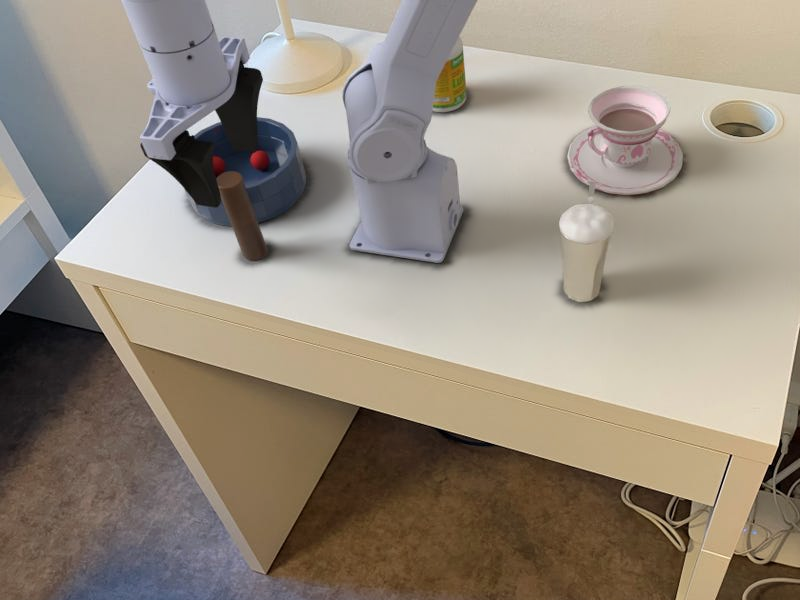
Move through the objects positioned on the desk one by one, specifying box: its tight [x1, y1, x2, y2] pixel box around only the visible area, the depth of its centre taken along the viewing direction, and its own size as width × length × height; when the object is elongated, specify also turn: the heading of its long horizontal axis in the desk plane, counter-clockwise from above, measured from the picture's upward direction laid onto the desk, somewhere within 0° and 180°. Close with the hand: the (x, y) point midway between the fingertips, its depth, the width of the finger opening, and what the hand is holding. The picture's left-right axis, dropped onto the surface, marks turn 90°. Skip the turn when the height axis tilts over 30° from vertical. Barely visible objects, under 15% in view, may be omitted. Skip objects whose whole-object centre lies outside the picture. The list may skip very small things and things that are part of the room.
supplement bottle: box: [432, 36, 467, 113], centre depth 91 cm, size 5×5×10 cm
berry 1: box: [213, 156, 226, 176], centre depth 87 cm, size 2×2×2 cm
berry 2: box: [250, 151, 270, 170], centre depth 87 cm, size 2×2×2 cm
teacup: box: [566, 85, 684, 196], centre depth 84 cm, size 12×12×6 cm
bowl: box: [184, 116, 307, 227], centre depth 85 cm, size 12×12×4 cm
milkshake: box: [558, 182, 615, 303], centre depth 71 cm, size 4×5×10 cm
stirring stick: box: [216, 171, 268, 262], centre depth 77 cm, size 2×2×9 cm
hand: (228, 175), depth 73 cm, fingers open, 7 cm apart
